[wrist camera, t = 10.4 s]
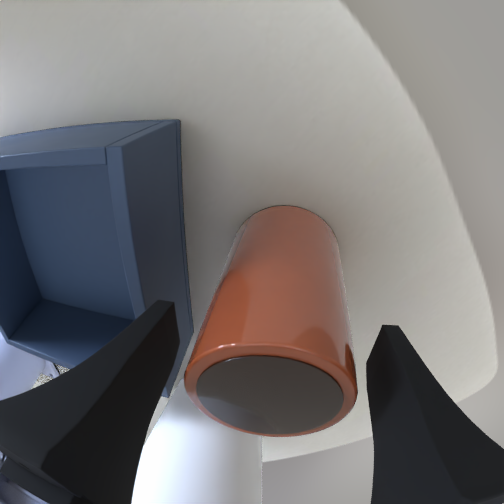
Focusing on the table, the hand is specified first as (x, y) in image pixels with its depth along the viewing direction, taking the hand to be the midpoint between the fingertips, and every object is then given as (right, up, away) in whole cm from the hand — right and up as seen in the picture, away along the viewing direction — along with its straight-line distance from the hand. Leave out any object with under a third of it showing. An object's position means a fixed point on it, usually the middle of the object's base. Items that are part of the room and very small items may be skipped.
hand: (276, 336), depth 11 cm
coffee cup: (+1, +3, +4) cm, 5 cm away
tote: (-10, +4, +6) cm, 12 cm away
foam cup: (-3, -8, +12) cm, 15 cm away
